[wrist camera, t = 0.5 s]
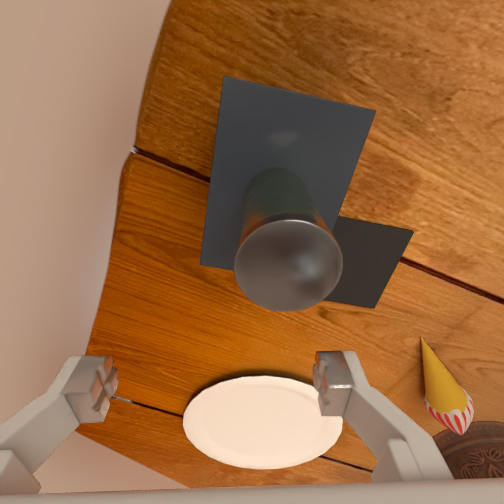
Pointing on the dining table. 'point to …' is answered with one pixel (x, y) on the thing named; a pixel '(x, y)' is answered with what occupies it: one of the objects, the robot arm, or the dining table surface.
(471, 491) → the robot arm
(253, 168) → the shelf
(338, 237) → the mat
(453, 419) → the ice cream cone
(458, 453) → the cup holder
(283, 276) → the tin
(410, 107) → the dining table surface
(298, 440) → the plate
